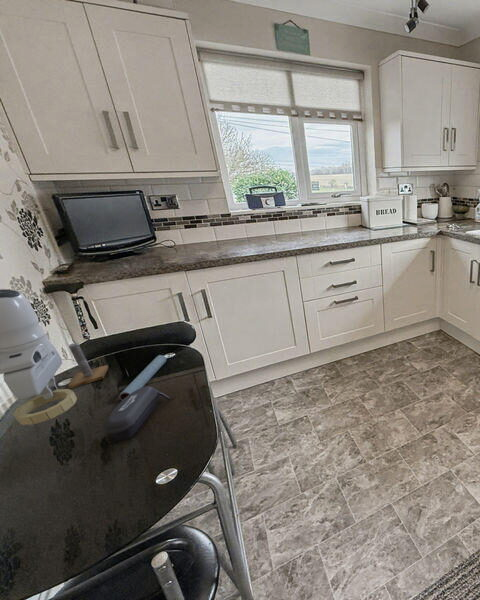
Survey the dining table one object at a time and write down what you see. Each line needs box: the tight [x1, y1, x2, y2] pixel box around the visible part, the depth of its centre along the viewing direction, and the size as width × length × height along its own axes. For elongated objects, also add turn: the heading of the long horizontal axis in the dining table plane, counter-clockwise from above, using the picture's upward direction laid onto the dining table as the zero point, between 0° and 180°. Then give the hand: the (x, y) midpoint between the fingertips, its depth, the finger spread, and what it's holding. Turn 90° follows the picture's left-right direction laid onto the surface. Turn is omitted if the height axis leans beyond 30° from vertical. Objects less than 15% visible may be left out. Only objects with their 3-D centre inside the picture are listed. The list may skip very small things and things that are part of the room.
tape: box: [13, 388, 78, 426], centre depth 85 cm, size 11×11×2 cm
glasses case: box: [103, 385, 171, 442], centre depth 89 cm, size 18×10×8 cm, turn 13°
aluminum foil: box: [118, 354, 167, 401], centre depth 108 cm, size 23×7×3 cm, turn 11°
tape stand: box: [67, 342, 109, 389], centre depth 111 cm, size 9×9×14 cm
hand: (51, 394), depth 89 cm, fingers closed on tape, 1 cm apart
